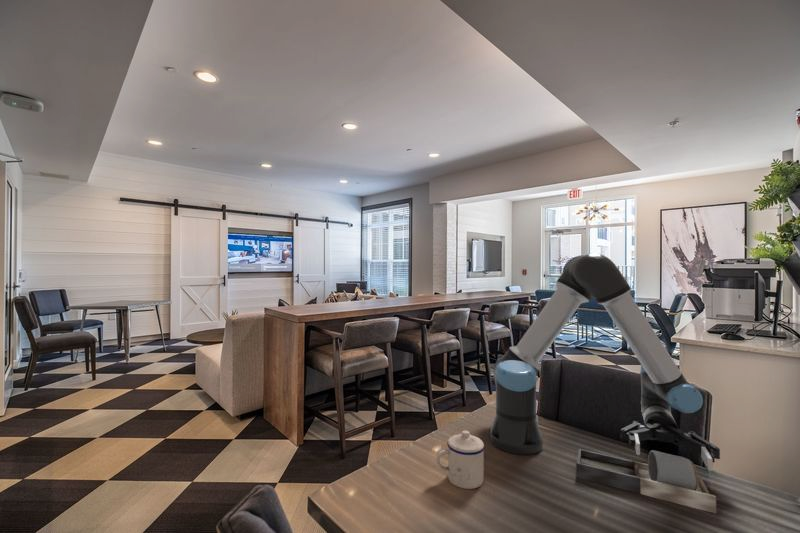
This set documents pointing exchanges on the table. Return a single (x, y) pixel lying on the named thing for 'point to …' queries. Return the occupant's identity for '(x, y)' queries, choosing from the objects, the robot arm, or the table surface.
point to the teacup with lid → (464, 460)
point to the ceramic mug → (672, 470)
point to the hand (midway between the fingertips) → (672, 456)
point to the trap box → (644, 482)
